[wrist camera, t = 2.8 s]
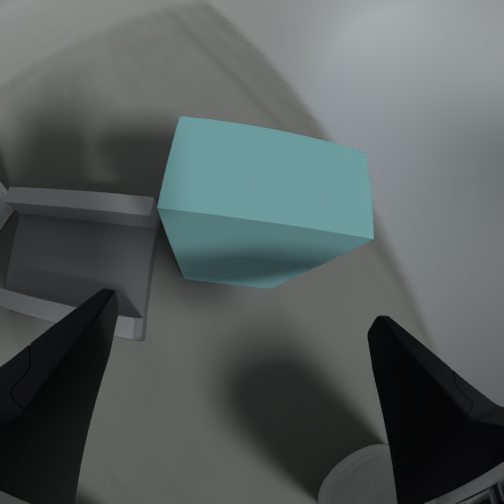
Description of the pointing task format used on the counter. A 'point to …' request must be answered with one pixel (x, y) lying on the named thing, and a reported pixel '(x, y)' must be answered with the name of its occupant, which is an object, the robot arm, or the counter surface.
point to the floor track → (81, 254)
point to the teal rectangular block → (260, 202)
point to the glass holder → (361, 479)
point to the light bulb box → (4, 206)
